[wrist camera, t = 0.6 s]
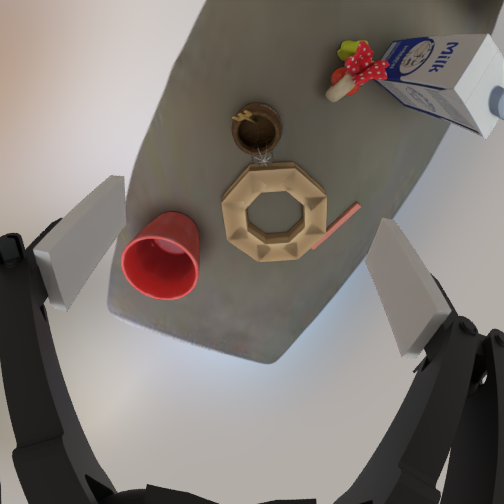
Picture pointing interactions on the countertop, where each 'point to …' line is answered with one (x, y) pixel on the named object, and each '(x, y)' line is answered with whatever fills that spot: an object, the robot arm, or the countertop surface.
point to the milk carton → (449, 79)
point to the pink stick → (338, 223)
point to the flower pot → (164, 257)
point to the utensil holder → (257, 129)
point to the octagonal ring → (272, 180)
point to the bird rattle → (355, 69)
